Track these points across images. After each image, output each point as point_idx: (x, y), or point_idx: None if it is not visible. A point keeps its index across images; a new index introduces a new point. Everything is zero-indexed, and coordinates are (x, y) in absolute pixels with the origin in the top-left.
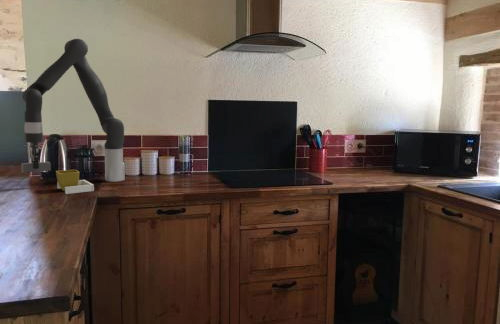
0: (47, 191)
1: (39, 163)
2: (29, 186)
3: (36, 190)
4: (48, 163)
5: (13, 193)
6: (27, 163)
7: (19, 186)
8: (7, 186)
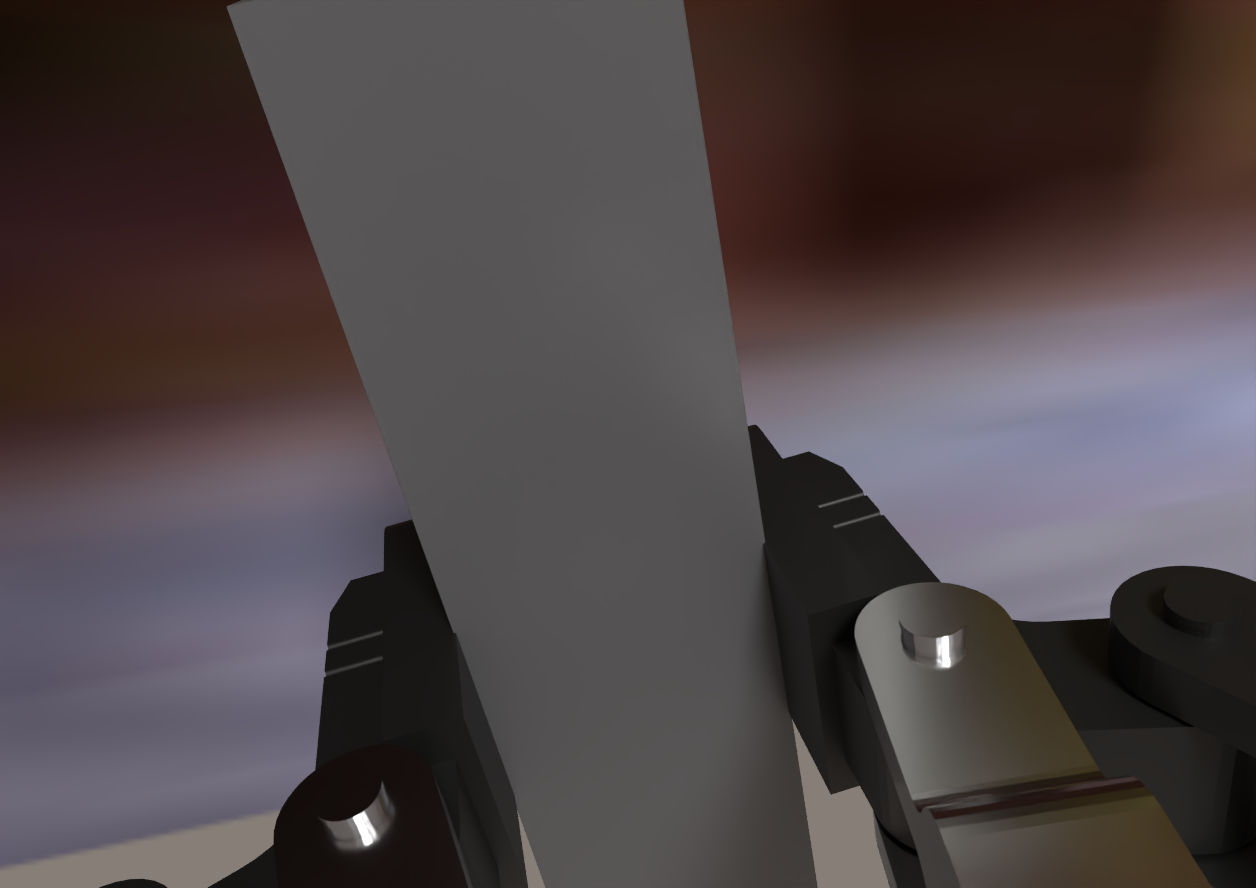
0: (968, 34)
1: (752, 492)
2: (222, 446)
3: (756, 266)
4: (680, 51)
5: None
6: (715, 880)
7: (181, 623)
8: (139, 802)
